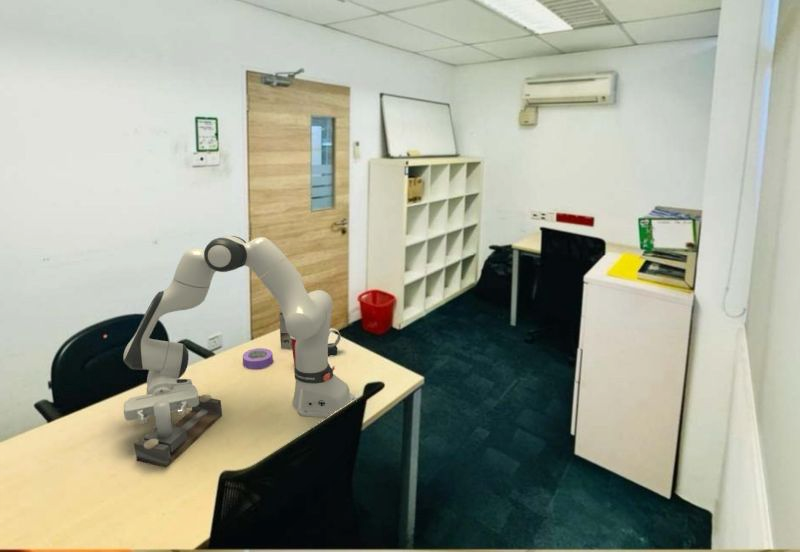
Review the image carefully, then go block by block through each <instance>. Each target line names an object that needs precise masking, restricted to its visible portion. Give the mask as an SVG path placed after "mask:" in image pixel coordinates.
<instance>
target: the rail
mask: <svg viewBox="0 0 800 552" xmlns="http://www.w3.org/2000/svg"><path fill="white" fill-rule="evenodd" d="M222 417H223V411H222V400H221V399H218V398H217V399H216V398H212V395H211V394H202V395H199V405H198V406H196V407H191V410H190V411H189V412H188V413H187V414H184V415H183V417H181V419H179V420H178V421H177V422H175V423H174V424H172V426H174V427H179V428H184V429H187V435H188V438H187V439H186V440H185V441H184V442H182V443H181V444H180V445H179V446H178V447H177V448H176V449H175V450H174V451H173V452H170V449H169V446H168V445H163V444H159V442H158V440H157V439H150V440H147V441H146V440H144V439H141V438H138V439H137V440H136V441H135V442H134V443H133V445H134V446H133V447H134V452H135V458H136V461H137V462H139V463H143V464H148V465H151V466H152V465H153V466H157V467H159V468H164V469H167V468H168V467H170V465H171V464H173V463H174V462H175V461H176V460H177V459H178V458H179V457H180V456H181V455H182V454H183V453H184V452H186V450H187V449H188V448H190V447H191V446H192V444H194V443H195V442H196V441H197V440H198V439H199V438H200V437H201V436H202V435H204V433H206V431H208V430H209V429H210V428H211V427H212V426H213V425H214V424H215V423H216V422H217V421H218V420H219V419H220V418H222Z"/></svg>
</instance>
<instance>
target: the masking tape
mask: <svg viewBox="0 0 800 552" xmlns="http://www.w3.org/2000/svg"><path fill="white" fill-rule="evenodd" d="M273 358H274V356H273V352H272V350H270V349H269V348H264V347H260V348H253V349H252V348H251V349H248V350H247V351H245V352H244V353H243V354H242V365H243V367H244V368H246V369H248V370H261V369H266V368H268V367H269V366H272V364H273V362H274V359H273Z"/></svg>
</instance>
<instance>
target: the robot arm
mask: <svg viewBox="0 0 800 552" xmlns="http://www.w3.org/2000/svg"><path fill="white" fill-rule="evenodd" d="M242 267H248V268H249V269H251V271H253V273H254V274H255V275H256V276H257V277H258V279H260V281H261V282H262V284H263V285H264V286H265V288H266V289H267V290H268V291H269V292H270V294H271V295H272V296H273V298H274V299H275V301H276V303H277V305H278V307H279V309H280V311H281V312H282V314H283V316H284V319H285V327H286V330H287V332H288V334H289V335H290V336H291V337H293V338H294V339H296V343H295V362H296V364H295V366H294V380H295V383H294V384H295V386H294V392H293V397H292V400H291V401H292V402H291V403H292V406H293V407H294V409H296V410H297V413H298V415H299V416H303V417H316V418H317V417H319V418H329V417H328V416H330V415H331V414H333V413H334V412H335V411H337V410H339V409H340V408H342V407H344V406H345V405H347V404H348V403H350V402H351V401H353V400H355V399H356V400H357V397H356V395H355V394H353V393H351V392H350V388H349V385H348V383H346V382H345V381H343V380H342V378H340V377H339V376H337V375H336V374H335V373H334V370H335V369H336V368H335V365H333V366H332V367H331V366H330V364H329V360H328V359H329V356H328V344H329V337H330V334H329V330H330V328H331V320H332V310H333V298H332V297H331V295H330V294H329V293H327V291H324V290H322V289H321V290H320V289H317V290H316V289H315V290H312V291H310V292H308V291H307V290H306V288H305V285H304V281H303V277H302V275H301V274H300V272H299V271H298V270H297V268H296V267H295V266H294V265H293V264H292V262H291V261H290V260H289V259H288V258H287V256H286V255H285V254H284V253H283V251H281V250H280V248H278V246H277V245H276V244H274V242H272V241H271V240H270V239H269V238H267V237H264V236H258V237H255V238H253V239H252V240H250V241H248V242H246V241H245V239H243V238H241V237H239V236H235V235H229V236H228V235H225V236H221V237H220V236H219V237H217V238H214V239H213V240H212V239H211V240H210V241H209V243H208V244H207V245H206V247H205V248H204V249H203V248H198V247H197V248H195V247H194V248H189V249H187V250H186V251H185V252H183V255H182V256H181V258H180V260H179V262H178V264H177V267H176V270H175V272H174V276H173V278H172V281H171V282H170V284H169V286H168V287H167V288H166V289H164V290H162V291H158V292H157V293H156V295H154V297H153V299H152V301H150V304H149V306H148V308H147V309H146V311H145V313H144V315H143V317H142V319H141V321H140V322H139V325H138V326H137V329H136V330H135V333H134V334H133V336H132V338H131V339H130V341H129V342H128V343H127V345H126V346H125V349H124V352H123V357H122V358H123V362H124V364H125V365H126V366H127V367H128V368H129V369H131V370H147V371H148V372H147V373H148V374H147V377H146V385H147V387H146V394H144V395H138V396H133V397H130V398H129V399H127V400H125V401H124V403H123V417H124V420H126V421H129V422H130V421H133V420H139V421H140V422H141V425H144V424H148V422H149V418H148V417H151V416H155V413H154V406H153V405H154V404H155V403H156V402H158V401H161V400H167V401H169V406H170V413H171V412H176V411H177V414H178V415H177V416H178V417H180V416H185V412H186V411H187V410H188V409H189V408H191V409H192V407H196V406H198V405H199V396H200V395H199V392H198V389H197V387H196V386H195V385H194V384H193V382H192V379H190V378H181V377H182V376H183V375H184V374H185V373H186V371H187V369H188V365H189V356H190V355H189V351H188V350H189V349H188V348H187V346H186V345H185V344H184V343H180V342H174V341H167V340H159V339H153V338H150V337H151V335H152V332H153V331H154V328H155V327H156V325H157V323H158V321H159V320H160V319H161V318H162V316H164V315H166V314H169V313H173V312H179V311H180V312H181V311H186V310H191V309H194V308H196V307H198V306H199V305H201V304H202V303H203V302H204V301H205V299H206V297H207V295H208V293H209V290H210V287H211V283H212V280H213V277H214V275H215V273H216V272H219V273H229V272H231V271H235V270H237V269H239V268H242Z"/></svg>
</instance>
